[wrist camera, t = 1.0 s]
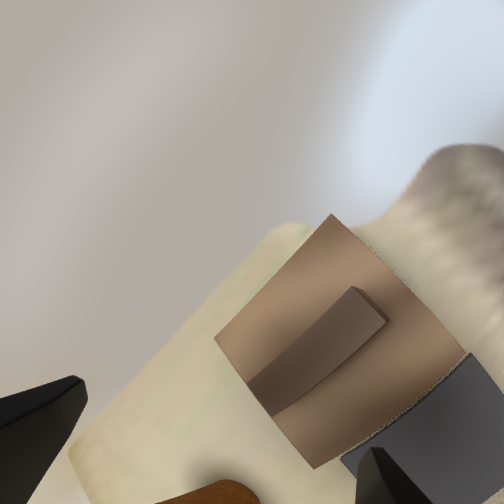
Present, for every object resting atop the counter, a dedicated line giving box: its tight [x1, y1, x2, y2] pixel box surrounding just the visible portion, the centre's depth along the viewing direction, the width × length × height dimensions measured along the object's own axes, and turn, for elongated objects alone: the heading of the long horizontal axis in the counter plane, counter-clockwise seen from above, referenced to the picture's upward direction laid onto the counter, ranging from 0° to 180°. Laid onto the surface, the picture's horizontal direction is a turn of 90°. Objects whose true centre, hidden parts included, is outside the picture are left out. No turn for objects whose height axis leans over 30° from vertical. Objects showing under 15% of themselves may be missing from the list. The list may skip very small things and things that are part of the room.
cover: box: [214, 214, 466, 470], centre depth 16 cm, size 12×12×4 cm
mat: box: [340, 353, 504, 504], centre depth 14 cm, size 13×13×1 cm
